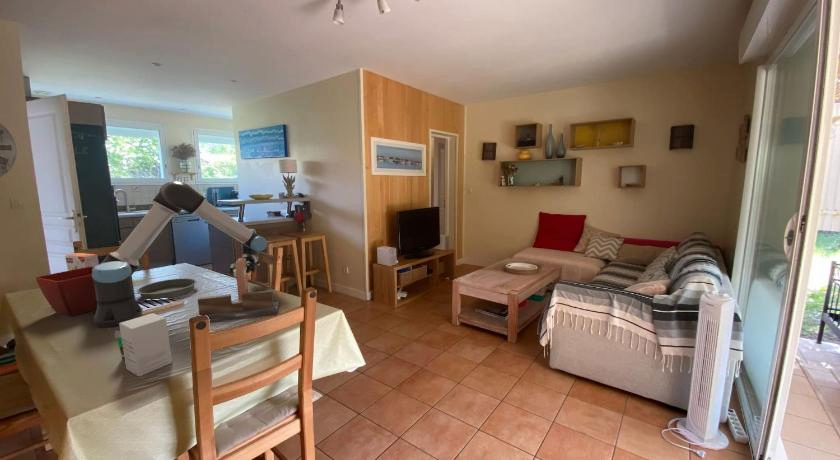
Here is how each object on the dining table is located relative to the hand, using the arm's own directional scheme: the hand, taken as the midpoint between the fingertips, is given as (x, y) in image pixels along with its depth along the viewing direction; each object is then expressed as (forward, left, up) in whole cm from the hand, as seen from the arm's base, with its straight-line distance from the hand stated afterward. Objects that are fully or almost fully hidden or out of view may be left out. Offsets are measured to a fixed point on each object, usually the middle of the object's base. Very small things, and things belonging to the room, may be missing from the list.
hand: (239, 273), depth 155 cm
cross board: (+7, -7, -15) cm, 18 cm away
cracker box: (-84, -24, -15) cm, 89 cm away
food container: (+9, -43, -15) cm, 47 cm away
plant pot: (-61, -35, -15) cm, 71 cm away
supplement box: (+21, -47, -15) cm, 54 cm away
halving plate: (-4, +4, -13) cm, 14 cm away
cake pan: (-49, -5, -15) cm, 51 cm away
